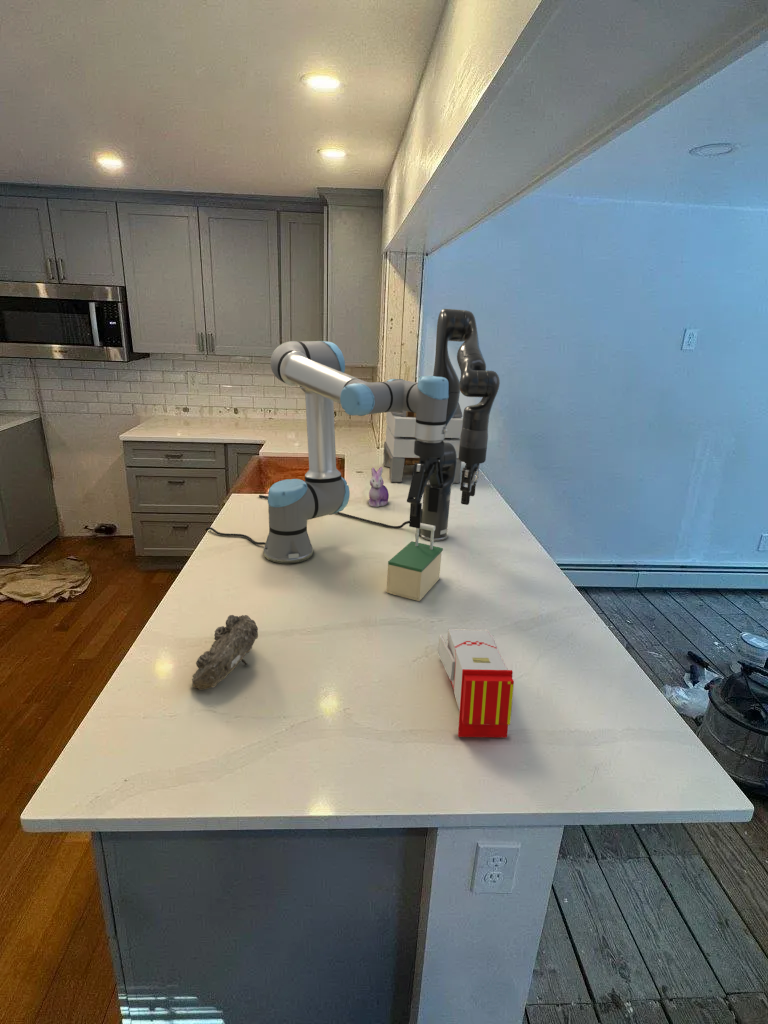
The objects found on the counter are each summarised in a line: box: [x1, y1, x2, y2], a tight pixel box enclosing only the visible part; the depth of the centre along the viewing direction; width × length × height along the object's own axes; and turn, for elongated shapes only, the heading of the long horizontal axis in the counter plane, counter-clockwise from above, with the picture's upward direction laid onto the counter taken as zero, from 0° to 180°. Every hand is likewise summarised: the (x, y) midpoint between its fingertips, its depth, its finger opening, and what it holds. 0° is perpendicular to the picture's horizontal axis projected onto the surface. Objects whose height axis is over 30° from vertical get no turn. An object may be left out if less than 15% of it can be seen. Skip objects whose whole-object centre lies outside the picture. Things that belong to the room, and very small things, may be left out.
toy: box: [437, 628, 515, 738], centre depth 117 cm, size 12×13×30 cm
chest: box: [386, 552, 442, 602], centre depth 162 cm, size 16×10×9 cm, turn 155°
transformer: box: [383, 402, 463, 484], centre depth 268 cm, size 34×33×41 cm
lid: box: [387, 523, 444, 572], centre depth 159 cm, size 17×10×8 cm, turn 155°
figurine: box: [367, 466, 390, 507], centre depth 227 cm, size 9×10×15 cm
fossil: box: [191, 614, 259, 691], centre depth 123 cm, size 22×10×15 cm
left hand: (424, 519), depth 149 cm, fingers open, 13 cm apart
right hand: (467, 499), depth 162 cm, fingers open, 8 cm apart
